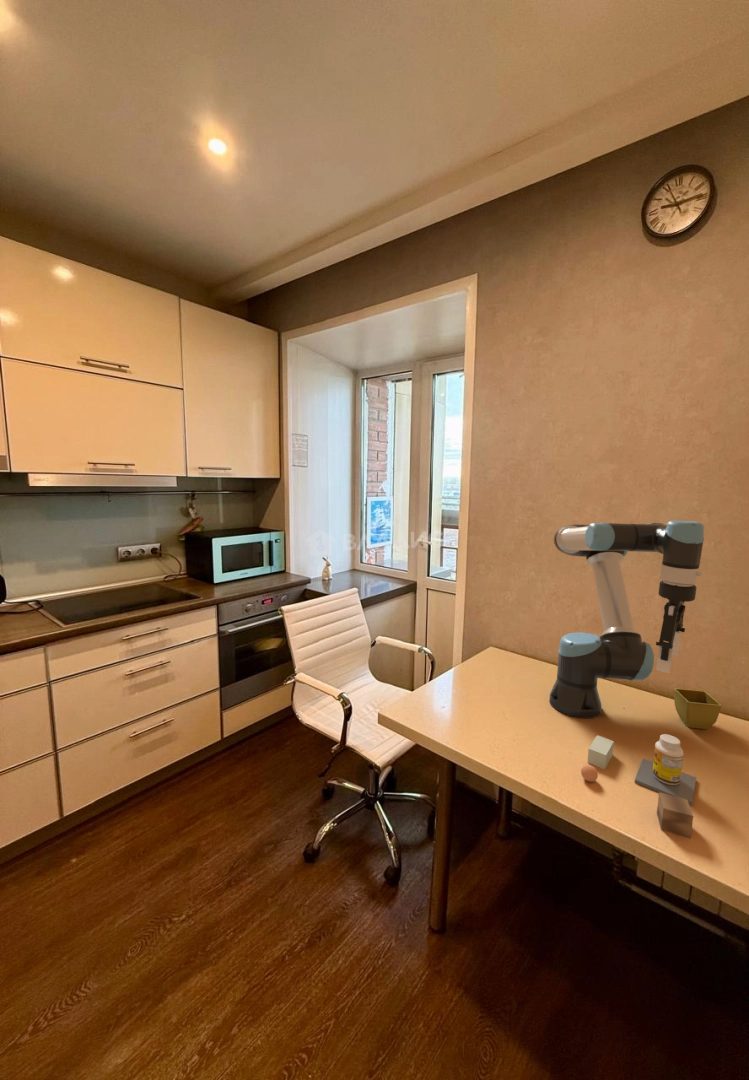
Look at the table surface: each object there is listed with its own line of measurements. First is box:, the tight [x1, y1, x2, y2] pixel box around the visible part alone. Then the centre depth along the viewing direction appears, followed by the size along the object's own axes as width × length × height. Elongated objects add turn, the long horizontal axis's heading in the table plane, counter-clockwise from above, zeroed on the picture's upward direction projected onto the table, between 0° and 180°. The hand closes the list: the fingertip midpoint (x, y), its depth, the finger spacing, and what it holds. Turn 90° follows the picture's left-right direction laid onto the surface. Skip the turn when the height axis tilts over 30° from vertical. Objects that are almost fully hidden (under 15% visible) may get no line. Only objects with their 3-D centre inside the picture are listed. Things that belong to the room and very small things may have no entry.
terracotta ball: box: [580, 764, 599, 783], centre depth 101 cm, size 4×4×4 cm
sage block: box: [587, 734, 615, 770], centre depth 109 cm, size 4×8×4 cm, turn 138°
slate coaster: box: [634, 757, 697, 807], centre depth 101 cm, size 11×11×1 cm
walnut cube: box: [656, 792, 694, 839], centre depth 88 cm, size 5×5×5 cm
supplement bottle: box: [653, 733, 684, 785], centre depth 100 cm, size 6×6×10 cm
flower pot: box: [673, 687, 722, 730], centre depth 126 cm, size 9×9×9 cm
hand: (667, 662), depth 109 cm, fingers open, 13 cm apart
